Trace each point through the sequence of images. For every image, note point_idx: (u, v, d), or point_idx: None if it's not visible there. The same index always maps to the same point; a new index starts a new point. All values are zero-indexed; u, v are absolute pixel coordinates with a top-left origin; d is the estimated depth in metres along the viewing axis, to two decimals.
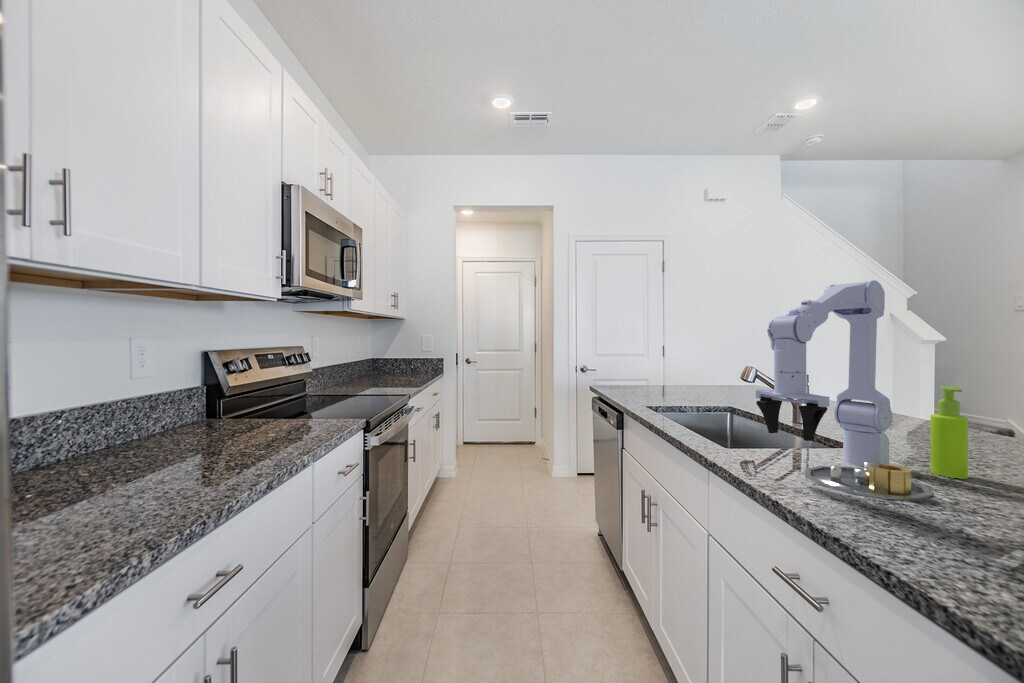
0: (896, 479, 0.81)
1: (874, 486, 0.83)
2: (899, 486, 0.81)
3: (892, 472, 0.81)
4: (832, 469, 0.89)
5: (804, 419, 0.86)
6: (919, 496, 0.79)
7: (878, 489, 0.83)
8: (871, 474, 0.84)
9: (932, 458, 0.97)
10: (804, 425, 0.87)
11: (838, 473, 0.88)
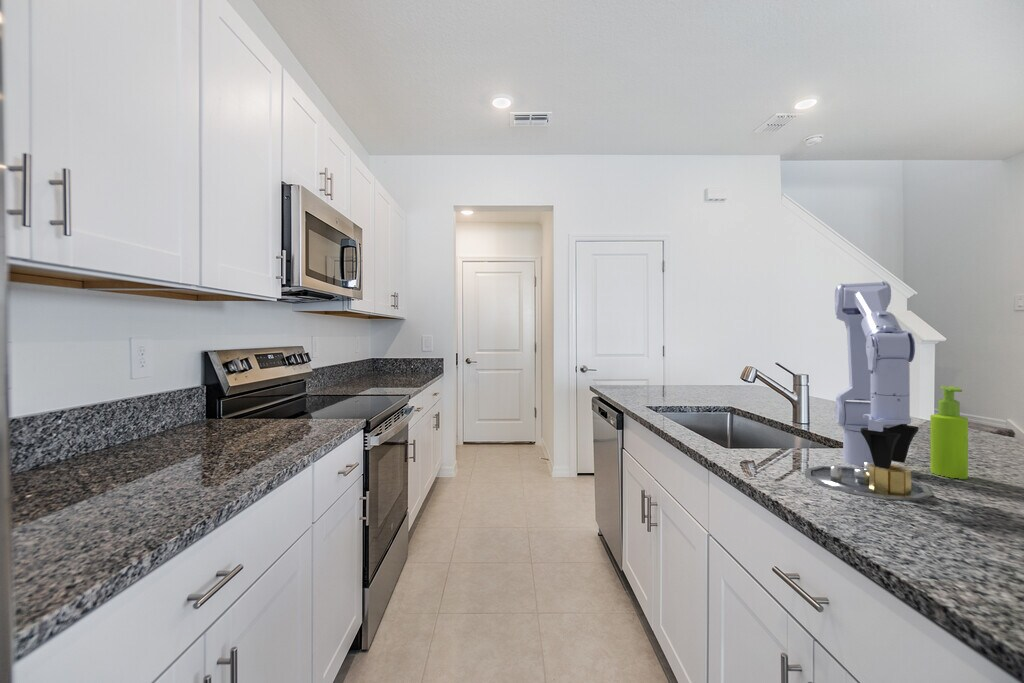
0: (896, 479, 0.81)
1: (874, 486, 0.83)
2: (899, 486, 0.81)
3: (892, 472, 0.81)
4: (832, 469, 0.89)
5: None
6: (919, 496, 0.79)
7: (878, 489, 0.83)
8: (871, 474, 0.84)
9: (932, 458, 0.97)
10: None
11: (838, 473, 0.88)
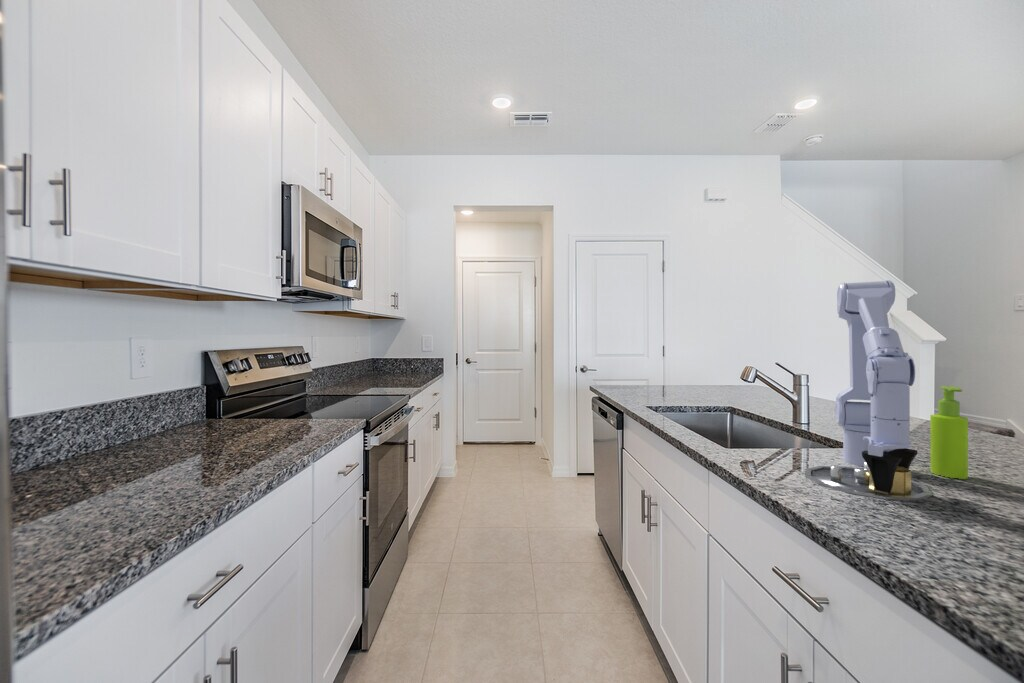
0: (896, 479, 0.81)
1: (874, 486, 0.83)
2: (899, 486, 0.81)
3: None
4: (832, 469, 0.89)
5: None
6: (919, 496, 0.79)
7: None
8: None
9: (932, 458, 0.97)
10: None
11: (838, 473, 0.88)
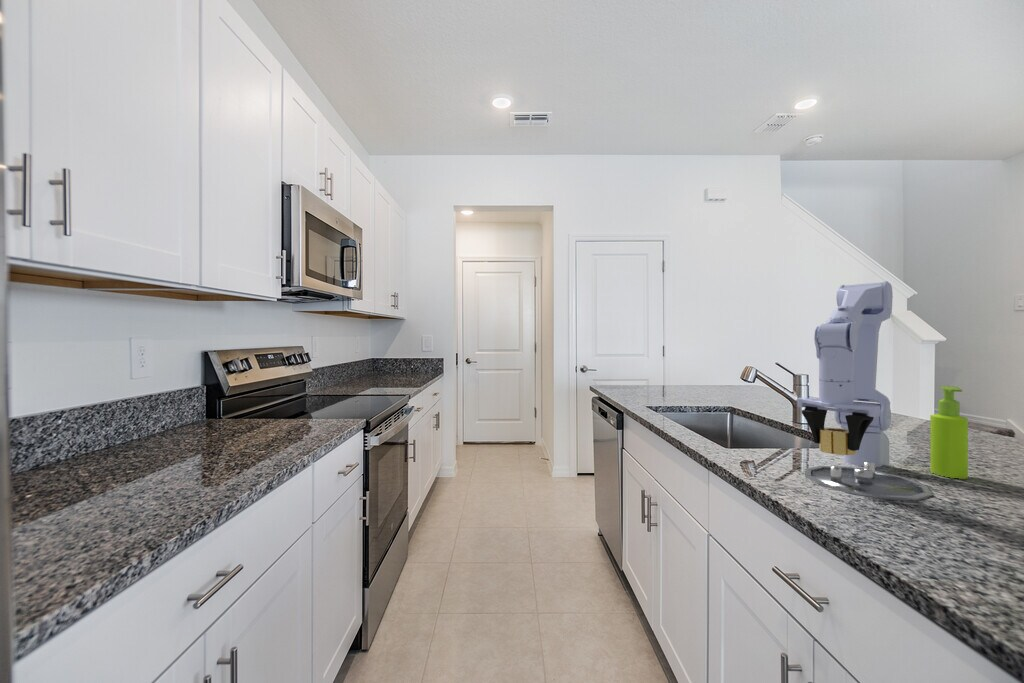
0: None
1: (845, 450, 0.86)
2: None
3: None
4: (832, 469, 0.89)
5: (851, 429, 0.85)
6: (919, 496, 0.79)
7: (849, 452, 0.86)
8: (839, 440, 0.87)
9: (932, 458, 0.97)
10: (850, 434, 0.85)
11: (838, 473, 0.88)
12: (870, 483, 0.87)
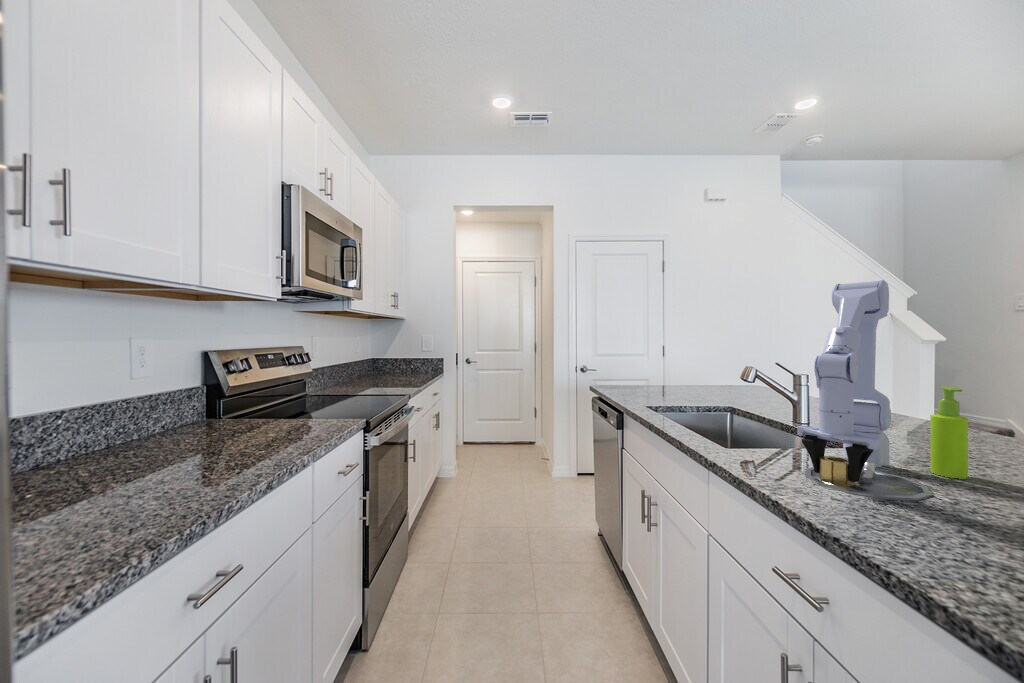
0: None
1: (845, 481, 0.86)
2: None
3: None
4: None
5: (851, 460, 0.85)
6: (919, 496, 0.79)
7: (849, 483, 0.86)
8: (839, 471, 0.87)
9: (932, 458, 0.97)
10: (850, 466, 0.85)
11: None
12: (870, 483, 0.87)
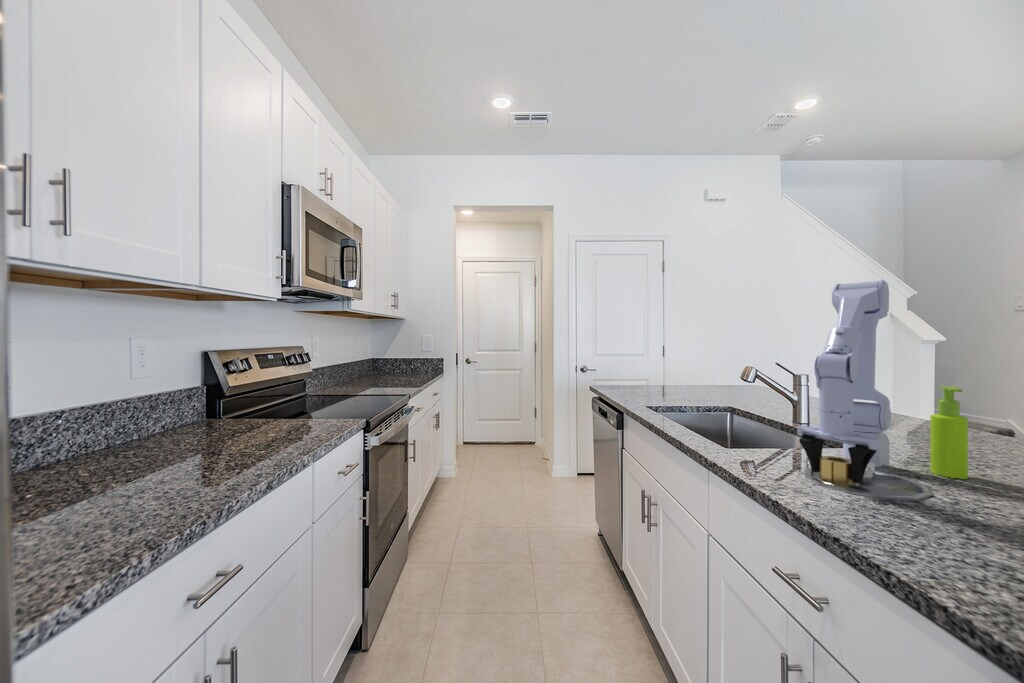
0: None
1: (845, 481, 0.86)
2: None
3: None
4: None
5: (854, 461, 0.85)
6: (919, 496, 0.79)
7: (849, 483, 0.86)
8: (839, 471, 0.87)
9: (932, 458, 0.97)
10: (853, 466, 0.85)
11: None
12: (870, 483, 0.87)
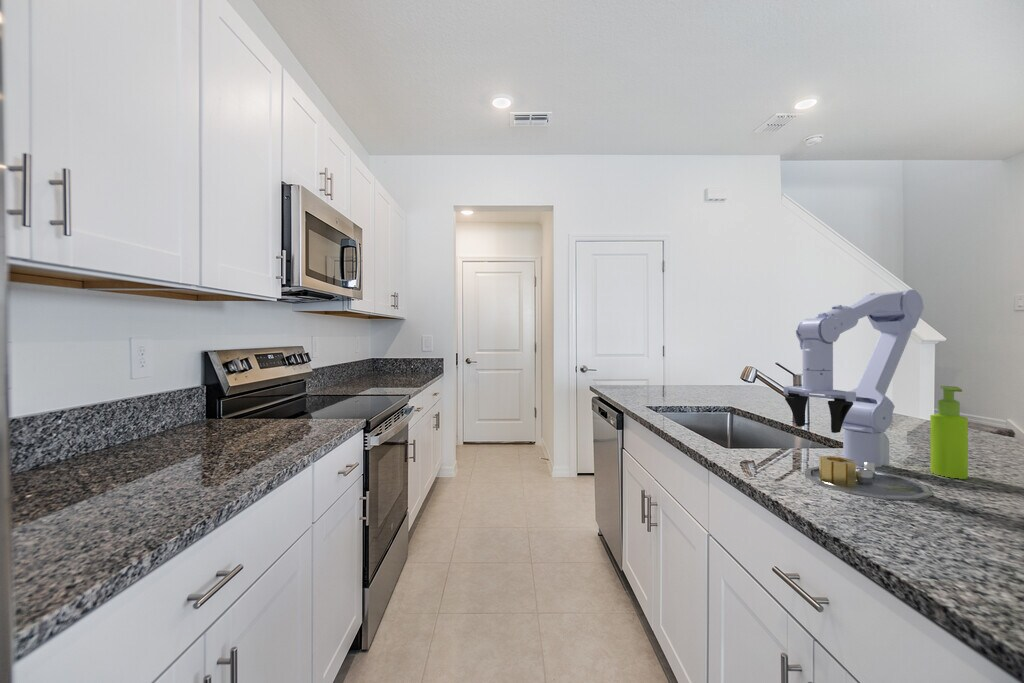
0: None
1: (845, 481, 0.86)
2: None
3: (854, 463, 0.87)
4: None
5: (832, 413, 0.94)
6: (919, 496, 0.79)
7: (849, 483, 0.86)
8: (839, 471, 0.87)
9: (932, 458, 0.97)
10: (832, 418, 0.94)
11: None
12: (870, 483, 0.87)
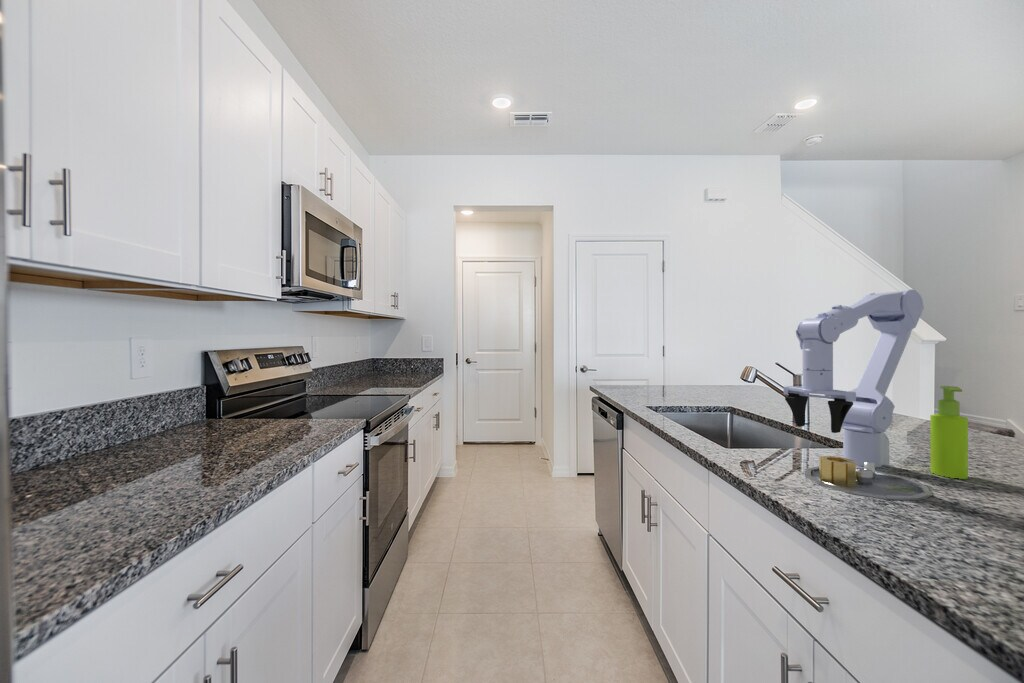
0: None
1: (845, 481, 0.86)
2: None
3: (854, 463, 0.87)
4: None
5: (832, 413, 0.94)
6: (919, 496, 0.79)
7: (849, 483, 0.86)
8: (839, 471, 0.87)
9: (932, 458, 0.97)
10: (832, 418, 0.94)
11: None
12: (870, 483, 0.87)
